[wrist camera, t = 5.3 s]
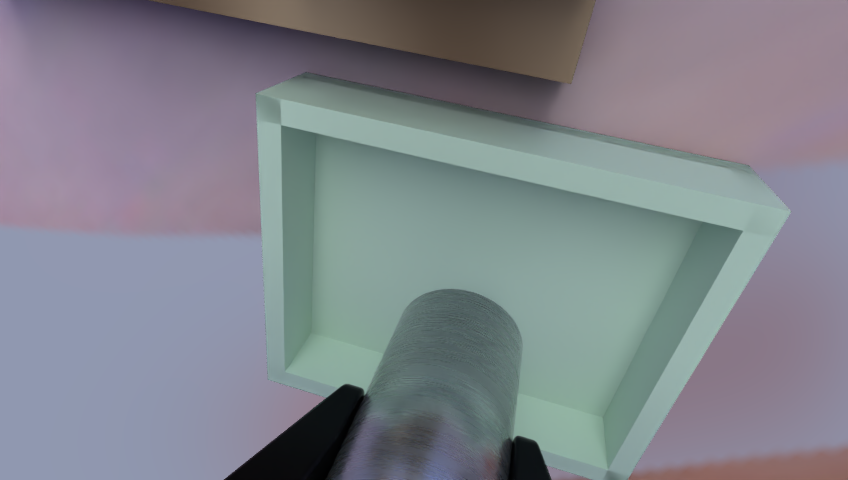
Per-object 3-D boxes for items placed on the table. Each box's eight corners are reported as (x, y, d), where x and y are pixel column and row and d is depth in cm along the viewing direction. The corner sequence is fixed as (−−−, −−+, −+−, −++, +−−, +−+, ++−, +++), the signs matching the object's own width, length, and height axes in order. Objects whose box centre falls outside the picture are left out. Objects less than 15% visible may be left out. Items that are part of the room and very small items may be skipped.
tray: (749, 165, 11) (791, 211, 9) (614, 420, 16) (621, 488, 14) (305, 71, 13) (255, 93, 11) (302, 329, 18) (267, 379, 16)
